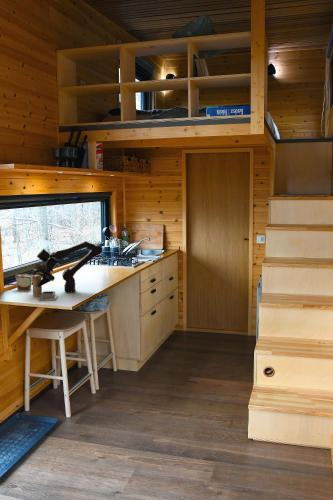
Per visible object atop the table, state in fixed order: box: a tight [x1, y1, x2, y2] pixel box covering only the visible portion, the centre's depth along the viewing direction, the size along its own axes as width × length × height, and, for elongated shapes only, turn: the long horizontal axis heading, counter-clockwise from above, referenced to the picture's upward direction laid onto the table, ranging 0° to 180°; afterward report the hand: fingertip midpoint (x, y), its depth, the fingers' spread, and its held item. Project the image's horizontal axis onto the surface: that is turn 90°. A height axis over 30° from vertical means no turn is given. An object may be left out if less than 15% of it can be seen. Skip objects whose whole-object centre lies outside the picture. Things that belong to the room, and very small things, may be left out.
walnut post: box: [31, 274, 43, 297], centre depth 312 cm, size 4×4×13 cm
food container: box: [14, 273, 33, 292], centre depth 330 cm, size 12×6×10 cm, turn 71°
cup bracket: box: [38, 290, 59, 302], centre depth 305 cm, size 10×10×4 cm
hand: (35, 285), depth 311 cm, fingers open, 7 cm apart
